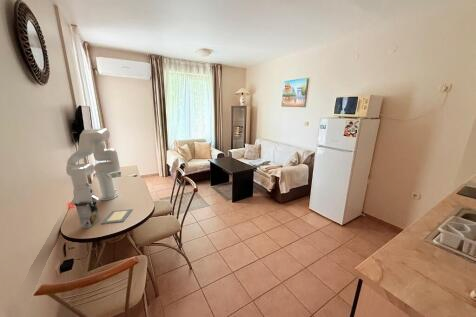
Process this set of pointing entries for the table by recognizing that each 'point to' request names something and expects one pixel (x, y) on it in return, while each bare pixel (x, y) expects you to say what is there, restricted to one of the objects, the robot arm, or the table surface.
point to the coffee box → (87, 215)
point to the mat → (117, 216)
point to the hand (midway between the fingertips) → (88, 211)
